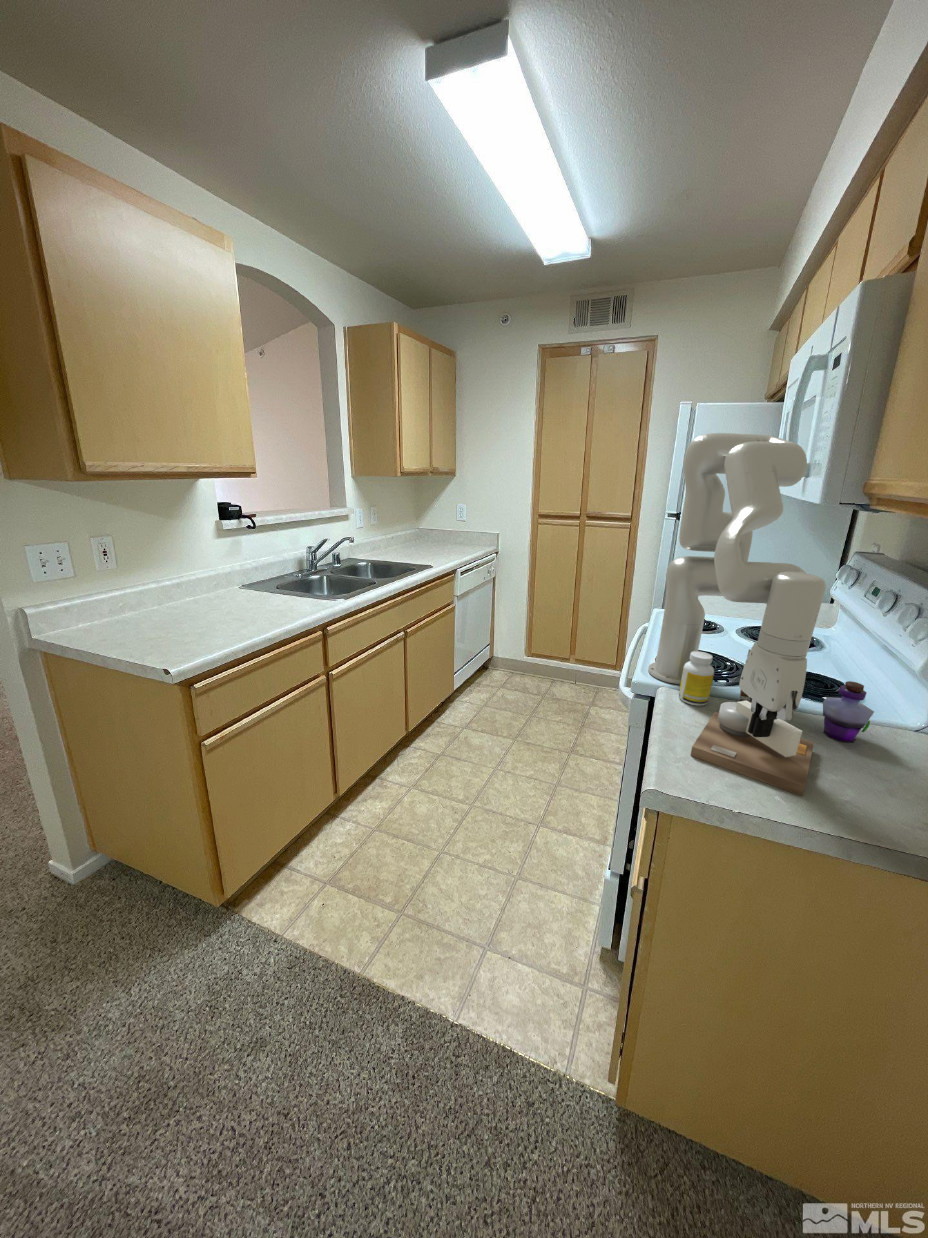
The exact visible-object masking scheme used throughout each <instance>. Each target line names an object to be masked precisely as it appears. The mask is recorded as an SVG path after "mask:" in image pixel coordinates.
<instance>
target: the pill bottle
mask: <svg viewBox="0 0 928 1238" xmlns="http://www.w3.org/2000/svg"><path fill="white" fill-rule="evenodd" d="M713 659H714V658H713V655H712V654H710V653H708V652H704V651H700V650H698V651H693V652H691V654H690V661H689V662H687V663H686V664H685V665H684V668H683V674H682V679H681V684H679V691H678V692H679V693H678V698H679V699H680V700H681V702H684V703H685V704H688V705H692V706H697V707H700V706H704V705H707V704H708V702H709V700H710V694H711V689H712V685H713V680H714V675H715V668H714V666H712V665H711V664H712V663H713Z"/></svg>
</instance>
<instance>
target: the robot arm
mask: <svg viewBox="0 0 928 1238" xmlns="http://www.w3.org/2000/svg"><path fill="white" fill-rule="evenodd" d="M807 464H808V459H807V455H806V452H805V450H804V449H803V447H802V446H801V445H799V444H797V443H796V442H794V441H790V440H787V439H783V438H780V437H776V436H773V435H768V434H755V433H754V434H752V433H751V434H749V433H748V434H747V433H732V432H730V433H729V432H728V433H727V432H715V433H711V432H710V433H706V434H701V435H698V436H696V437H694V439H692V441H690V443H689V444H688V446H687V448H686V451H685V455H684V459H683V476H684V483H685V493H684V494H685V495H684V501H683V508H682V513H681V514H682V515H681V520H680V527H679V534H678V535H679V536H678V537H679V540H678V541H679V544H680V546H681V547H682V548H683V549H685V550H687V551H693V552H708V553H714V554H713V555H714V556H695V555H694V556H693V555H687V556H681V557H680V556H679V557H676V558H675V559H673V560H672V561H670V562H669V564H668V566H667V568H666V574H665V575H666V576H665V577H666V580H665V581H666V593H665V605H664V611H663V617H662V618H663V619H662V623H661V629H660V635H659V641H658V646H657V647H658V648H657V652H656V659H655V662H652V663H651V664H649V665H648V673H649V674H650V675H651V676H652V677H654V678H655V679H657V680H660V681H662V682H666V683H669V684H674V685H681V679H682V674H683V668H684V665H685V664H686V663H687V662H689V661H690V654H691V652H693V651H699V648H700V642H701V639H702V634H703V628H704V625H705V624H704V623H705V618H706V617H705V616H706V612H705V608H704V607H703V605H702V604H701V601H700V600H699V597H701V596H703V597H705V596H707V597H708V596H710V597H723V598H724V599H725V600H727V601H729V602H732V603H742V604H743V603H744V604H746V603H748V604H765V605H766V606H765V609H764V614H763V619H762V622H761V627H760V629H759V633H758V634H759V635H758V638H757V641H754V643H753V645H752V647H751V648H750V649H749V650H750V652H749V655H748V654H747V655H748V657H747V656H746V660H745V663H744V666H743V668H742V672H741V676H740V679H739V689H741V690H742V691H743V692H744V693H745V694H747V695H748V697H749V698H750V700H751V712H752V713H753V714H752V717H751V721H750V724H749V728H748V732H749V733H750V734H752V735H753V736H754V737H769V736H770V733H771V730H772V726H773V723H774V720H777V719H781V720H783V721H791V720H792V719H793V718H792V717H793V716H792V715H793V712H795V711H797V710H798V707H799V706H800V702H801V700H802V696H803V693H804V688H805V683H806V675H807V667H808V659H807V655H808V651H809V647H810V645H811V641H812V637H813V634H814V631H815V627H816V623H817V620H818V616H819V614H820V610H821V607H822V603H823V599H824V595H825V591H826V586H827V584H826V581H825V580H824V579H823V577H820V576H818V575H815V574H811V573H807V572H806V570H803V568H801V567H800V566H798V565H796V564H792V563H788V562H787V563H785V562H769V561H768V562H767V561H749V556H750V551H751V547H752V546H751V545H752V542H753V541H752V540H753V533H754V532H753V531H755V530H759V529H761V528H763V527H766V526H769V525H770V524H772V523H774V522H776V521H777V520H779V518H780V517H781V516H782V514H783V512H784V503H783V499H782V495H781V489H780V488H781V487H783V488H785V487H793V486H795V485H796V484H797V483H799V482H800V481H801V480H802V479H803V478H804V475H805V474H806V471H807V466H808V465H807ZM717 474H719V475H722V474H724V475H725V479H726V485H727V492H728V498H729V504H730V512H728V511H727V512H726V511H724V504H725V503H724V502H725V499H726V490H725V486H724V484H723V481H721V479H720V477H719V476H718V475H717Z"/></svg>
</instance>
